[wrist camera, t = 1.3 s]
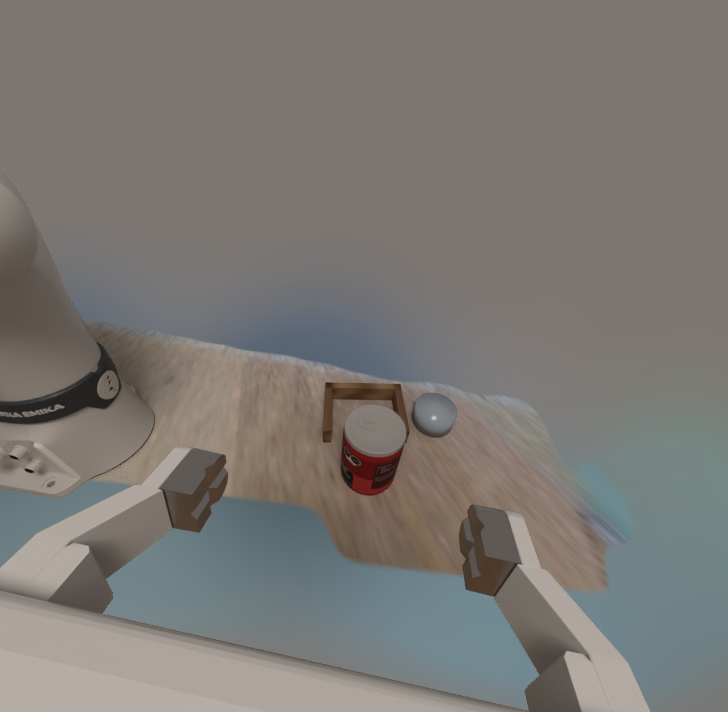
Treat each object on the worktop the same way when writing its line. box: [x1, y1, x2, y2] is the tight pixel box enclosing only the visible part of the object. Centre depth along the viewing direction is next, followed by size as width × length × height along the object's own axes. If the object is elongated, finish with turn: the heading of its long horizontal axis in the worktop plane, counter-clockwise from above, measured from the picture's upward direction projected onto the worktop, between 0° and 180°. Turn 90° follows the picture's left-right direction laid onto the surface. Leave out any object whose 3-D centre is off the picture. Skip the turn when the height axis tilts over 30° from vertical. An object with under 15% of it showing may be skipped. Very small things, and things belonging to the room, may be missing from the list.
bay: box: [323, 382, 410, 443], centre depth 53 cm, size 13×10×3 cm
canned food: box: [341, 404, 406, 495], centre depth 43 cm, size 8×8×11 cm
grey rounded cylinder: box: [412, 393, 457, 438], centre depth 54 cm, size 7×7×4 cm
